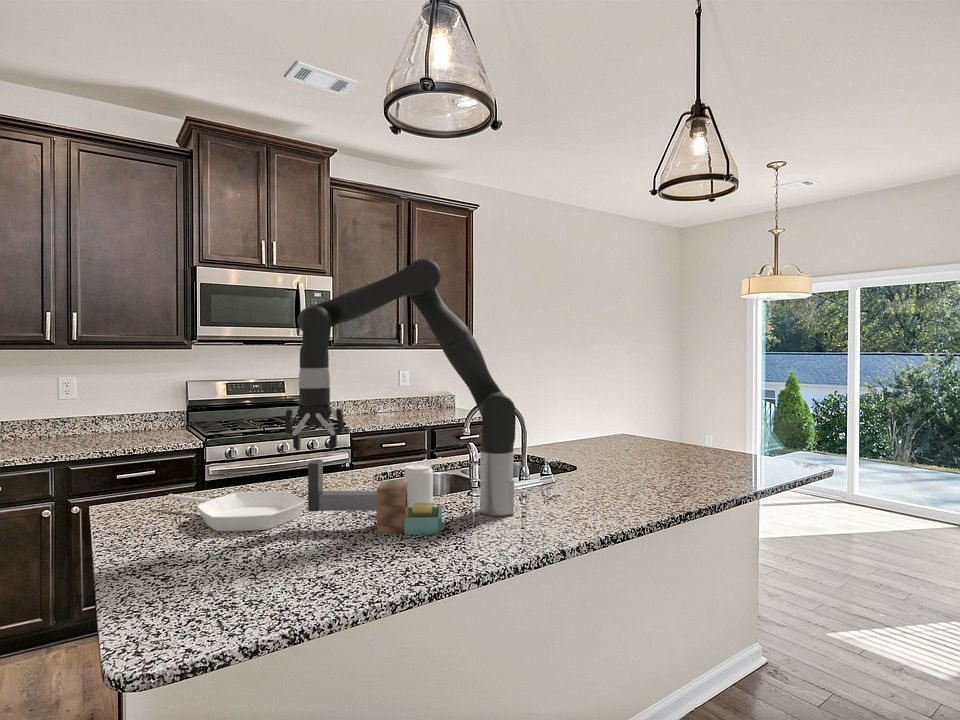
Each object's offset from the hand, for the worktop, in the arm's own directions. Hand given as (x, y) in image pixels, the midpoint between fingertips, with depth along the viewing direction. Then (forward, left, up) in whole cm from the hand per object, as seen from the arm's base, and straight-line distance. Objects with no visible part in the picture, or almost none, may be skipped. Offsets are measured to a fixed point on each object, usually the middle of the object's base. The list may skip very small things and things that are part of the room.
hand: (315, 449), depth 151 cm
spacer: (-25, 0, -17) cm, 30 cm away
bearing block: (-19, 0, -20) cm, 28 cm away
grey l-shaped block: (-9, 0, -15) cm, 18 cm away
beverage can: (-25, -18, -20) cm, 37 cm away
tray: (-27, 0, -20) cm, 34 cm away
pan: (+26, -12, -20) cm, 35 cm away
